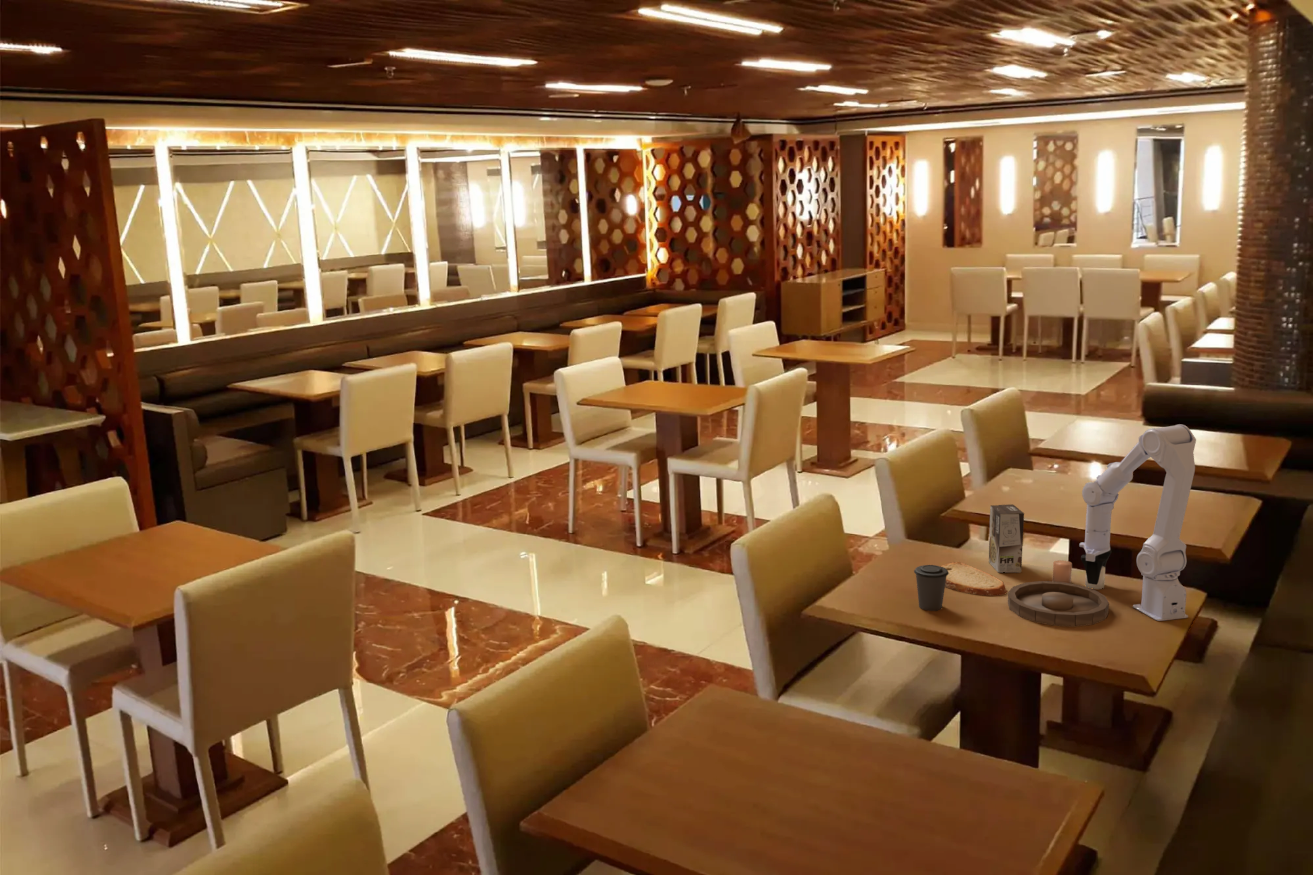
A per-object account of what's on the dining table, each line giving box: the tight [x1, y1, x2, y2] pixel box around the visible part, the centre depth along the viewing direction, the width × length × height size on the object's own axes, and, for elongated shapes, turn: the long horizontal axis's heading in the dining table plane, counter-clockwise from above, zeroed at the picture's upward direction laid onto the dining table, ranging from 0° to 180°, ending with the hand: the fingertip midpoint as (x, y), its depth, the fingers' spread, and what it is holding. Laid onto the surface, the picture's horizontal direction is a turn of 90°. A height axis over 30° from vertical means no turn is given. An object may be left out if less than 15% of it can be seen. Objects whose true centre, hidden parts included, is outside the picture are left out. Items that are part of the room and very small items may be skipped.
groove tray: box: [1007, 580, 1110, 627], centre depth 252 cm, size 22×22×3 cm
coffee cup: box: [913, 564, 949, 612], centre depth 255 cm, size 8×8×10 cm
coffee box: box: [988, 503, 1025, 573], centre depth 280 cm, size 9×6×16 cm
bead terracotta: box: [1052, 559, 1073, 584], centre depth 270 cm, size 4×4×5 cm
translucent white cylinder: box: [1084, 566, 1106, 590], centre depth 266 cm, size 4×4×5 cm
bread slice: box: [940, 561, 1008, 597], centre depth 272 cm, size 18×18×4 cm
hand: (1094, 580), depth 266 cm, fingers closed on translucent white cylinder, 4 cm apart
